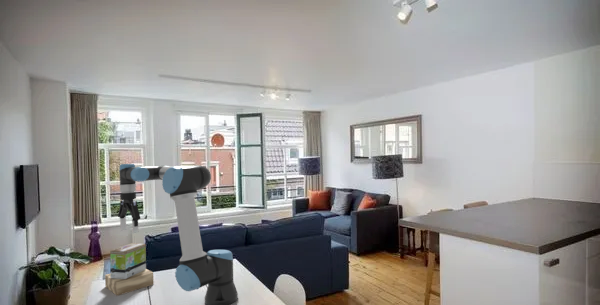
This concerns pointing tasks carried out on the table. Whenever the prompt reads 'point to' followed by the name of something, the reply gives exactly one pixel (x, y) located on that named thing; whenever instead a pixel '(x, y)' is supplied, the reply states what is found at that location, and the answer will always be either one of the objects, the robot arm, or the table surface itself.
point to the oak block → (129, 282)
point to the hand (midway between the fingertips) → (129, 231)
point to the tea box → (127, 260)
